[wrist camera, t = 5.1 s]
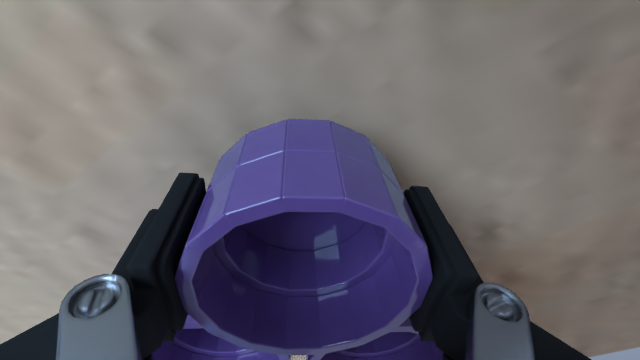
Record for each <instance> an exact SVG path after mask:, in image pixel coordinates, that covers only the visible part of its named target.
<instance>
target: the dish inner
mask: <svg viewBox="0 0 640 360" xmlns="http://www.w3.org/2000/svg"><path fill="white" fill-rule="evenodd" d="M432 280H433V273H432V267H431V262H430V257H429V252H428V247H427V244H426V242H425V240H424V238H423V235H422V233H421V231H420V229H419V227H418V224H417V222H416V220H415V218H414V215H413V213H412V211H411V209H410V207H409V204H408V202H407V200H406V198H405V196H404V193H403V191H402V189H401V187H400V185H399V182H398V180H397V178H396V176H395V173H394V171H393V169H392V167H391V165H390V163H389V161H388V160H387V159H386V158H385V157H384V155H383V154H382V153H381V152H380V151H379V150H378V149H377V148H376V146H375V145H374V144H373V143H372V142H371V141H370V140H369V139H368V138H367V137H366V136H364V135H362V134H360V133H358V132H355V131H353V130H351V129H348V128H346V127H344V126H342V125H339V124H337V123H335V122H333V121H329V120H303V119H288V120H283V121H280V122H278V123H275V124H272V125H269V126H266V127H263V128H260V129H257V130H254V131H251V132H249V133H248V134H246V135H245V136H243V137H242V138H241V139H240V140H239V141H238V142H237V143H236V144H235V145H234V146H233V147H231V148H230V149H229V150H228V151H227V152H226V153H225V154H224V155H223V156H222V157H221V159H220V160H219V162H218V165H217V167H216V170H215V172H214V175H213V177H212V180H211V182H210V185H209V187H208V190H207V192H206V195H205V197H204V199H203V202H202V204H201V207H200V209H199V212H198V214H197V217H196V219H195V222H194V224H193V227H192V229H191V232H190V234H189V237H188V239H187V242H186V244H185V247H184V250H183V253H182V256H181V258H180V261H179V264H178V267H177V270H176V273H175V276H174V281H175V285H176V288H177V291H178V294H179V297H180V300H181V303H182V306H183V309H184V310H185V312H186V313H188V314H189V315H190V316H191V317H192V318H193V319H194V320H195V321H196V322H197V323H198V324H199V325H201V326H202V327H203V328H204V329H205V330H206V331H207V332H208V333H210V334H211V335H214V336H216V337H218V338H221V339H223V340H225V341H227V342H230V343H232V344H234V345H237V346H239V347H241V348H245V349H249V350H255V351H260V352H266V353H272V354H277V355H319V354H327V353H331V352H336V351H340V350H345V349H349V348H354V347H358V346H360V345H364V344H366V343H368V342H370V341H373V340H375V339H377V338H379V337H381V336H383V335H385V334H387V333H390V332H392V331H394V329H397V328H398V327H399V326H400V325H401V324H402V323H403V322H404V321H406V320H407V319H408V318H409V317H410V316H411V315H412V314H413V313H415V312H416V311H417V310H418V309H419V308H420V307H421V305H422V303H423V301H424V298H425V296H426V294H427V292H428V289H429V287H430V285H431V282H432Z"/></svg>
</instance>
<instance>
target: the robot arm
mask: <svg viewBox="0 0 640 360" xmlns="http://www.w3.org/2000/svg"><path fill="white" fill-rule="evenodd" d="M205 195H206V189H205V182H204V179H203V178H199V176H198V174H195V173H179V174H178V176H177V178H176V180H175V181H174V183H173V185H172V187H171V188H170V190H169V192H168V194H167V195H166V197H165V199H164V201H163V203H162V204H161V206H160V208H159V209H152V210H150V211H149V213H148V214H147V216H146V217H145V219H144V221H143V222H142V224H141V226H140V227H139V229H138V231H137V232H136V234H135V236H134V237H133V239H132V241H131V242H130V244H129V246H128V247H127V249H126V251H125V252H124V254H123V256H122V257H121V259H120V261H119V262H118V264H117V266H116V267H115V269H114V271H113V272H112V274H102V275H97V276H94V277H91V278H89V279H86V280H84V281H82V282H81V283H79V284H78V285H76V286H75V287H74V288H73V289H71V290H70V291H69V292H68V293H67V295H66V296H65V297H64V299H63V300H62V302H61V306H60V309H59V313H58V314H57V315H55V316H53V317H51V318H49V319H47V320H45V321H43V322H42V323H40V324H38V325H36V326H34V327H32V328H30V329H29V330H27V331H25V332H23V333H21V334H19V335H17V336H15V337H14V338H12V339H10V340H8V341H6V342H4V343H2V344H1V345H0V360H155V356H154V352H155V351H156V350H157V349H159V348H160V347H161V345H162V343H163V342H173V341H174V338H175V335H176V332H177V330H182V329H183V327H184V325H185V322H186V318H187V315H188V313H186V312H185V310H184V309H183V306H182V303H181V300H180V297H179V294H178V291H177V288H176V285H175V281H174V276H175V273H176V270H177V267H178V264H179V261H180V258H181V256H182V253H183V250H184V247H185V244H186V242H187V239H188V237H189V234H190V232H191V229H192V227H193V224H194V222H195V219H196V217H197V214H198V212H199V209H200V207H201V204H202V202H203V199H204V197H205ZM404 196H405V198H406V200H407V202H408V204H409V207H410V209H411V211H412V213H413V215H414V218H415V220H416V222H417V224H418V227H419V229H420V231H421V233H422V235H423V238H424V240H425V242H426V244H427V247H428V252H429V257H430V262H431V267H432V273H433V280H432V282H431V285H430V287H429V289H428V292H427V294H426V296H425V298H424V301H423V303H422V305H421V307H420V308H419V309H418V310H417V311H416V312H415V313H413V314H412V315H411V316H410V317H409V318H410V321H411V324H412V327H413V329H414V331H415V332H418V333H419V336H420V339H421V342H435V345H436V347H437V348H439V353H438V360H591V359H590V358H588V357H586V356H585V355H583V354H582V353H580V352H578V351H577V350H575V349H574V348H572V347H570V346H569V345H567V344H566V343H564V342H562V341H561V340H559V339H558V338H556V337H554V336H553V335H551V334H550V333H548V332H547V331H545V330H543V329H542V328H540V327H539V326H537V325H535V324H534V323H532V322H531V321H530V320H529V314H528V311H527V308H526V306H525V304H524V303H523V301H522V300H521V299H520V298H519V297H518V296H517V295H516V294H515V293H513V292H512V291H511V290H509V289H508V288H506V287H504V286H502V285H499V284H495V283H483V281H482V279H481V277H480V276H479V274H478V272H477V270H476V269H475V267H474V265H473V263H472V262H471V260H470V258H469V256H468V255H467V253H466V251H465V250H464V248H463V246H462V244H461V243H460V241H459V239H458V237H457V236H456V234H455V232H454V230H453V229H452V227H451V226H450V224H449V223H448V222H447V220H446V218H445V216H444V215H443V213H442V211H441V209H440V208H439V206H438V204H437V202H436V201H435V199H434V197H433V195H432V193H431V192H430V190H429V189H428V187H420V186H411V187H410V189H409V190H405V192H404Z"/></svg>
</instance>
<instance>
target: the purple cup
mask: <svg viewBox="0 0 640 360" xmlns="http://www.w3.org/2000/svg"><path fill="white" fill-rule="evenodd" d="M438 353H439V348H437V347H436V345H435V342H421V339H420V336H419V333H418V332H415V331H414V329H413V327H412V324H411V321H410V318H408V319H407V320H406V321H404V322H403V323H402V324H401V325H400V326H399V327H398V328H397V329H394V331H392V332H390V333H387V334H385V335H383V336H381V337H379V338H377V339H375V340H373V341H370V342H368V343H366V344H364V345H360V346H358V347H354V348H349V349H345V350H340V351H336V352H331V353H327V354H319V355H306V360H438Z"/></svg>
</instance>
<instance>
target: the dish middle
mask: <svg viewBox="0 0 640 360" xmlns="http://www.w3.org/2000/svg"><path fill="white" fill-rule="evenodd" d="M154 356H155V360H290V358H291V355H277V354H272V353H266V352H260V351H255V350H249V349H245V348H241V347H239V346H237V345H234V344H232V343H230V342H227V341H225V340H223V339H221V338H218V337H216V336H214V335H211V334H210V333H208V332H207V331H206V330H205V329H204V328H203V327H202V326H201V325H199V324H198V323H197V322H196V321H195V320H194V319H193V318H192V317H191V316H190V315H189V314H188V315H187V318H186V322H185V325H184V327H183V329H182V330H177V332H176V335H175V338H174V341H173V342H163V343H162V345H161V347H160V348H159V349H157V350H156V351H155V352H154Z"/></svg>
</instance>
